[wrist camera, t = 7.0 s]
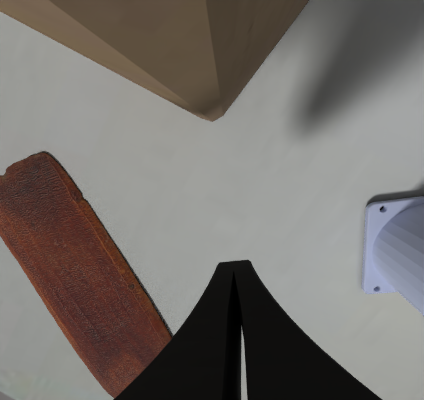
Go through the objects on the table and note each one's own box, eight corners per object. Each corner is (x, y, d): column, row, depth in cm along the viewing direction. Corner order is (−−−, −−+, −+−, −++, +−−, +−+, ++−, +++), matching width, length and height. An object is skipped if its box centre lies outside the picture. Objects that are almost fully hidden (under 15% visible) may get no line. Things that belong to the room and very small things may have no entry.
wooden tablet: (198, 374, 24) (196, 391, 22) (119, 391, 25) (112, 408, 24) (67, 139, 17) (50, 140, 15) (-30, 184, 18) (-55, 189, 17)
